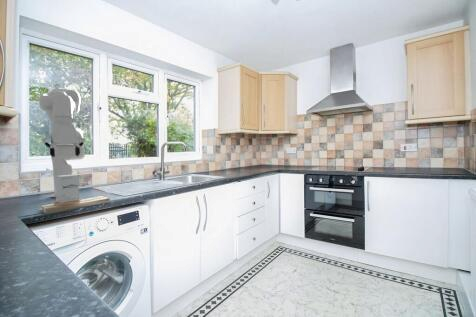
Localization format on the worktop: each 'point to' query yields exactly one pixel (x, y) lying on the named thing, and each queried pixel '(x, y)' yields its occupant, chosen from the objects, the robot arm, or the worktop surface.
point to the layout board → (74, 204)
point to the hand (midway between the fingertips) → (65, 156)
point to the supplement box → (67, 188)
